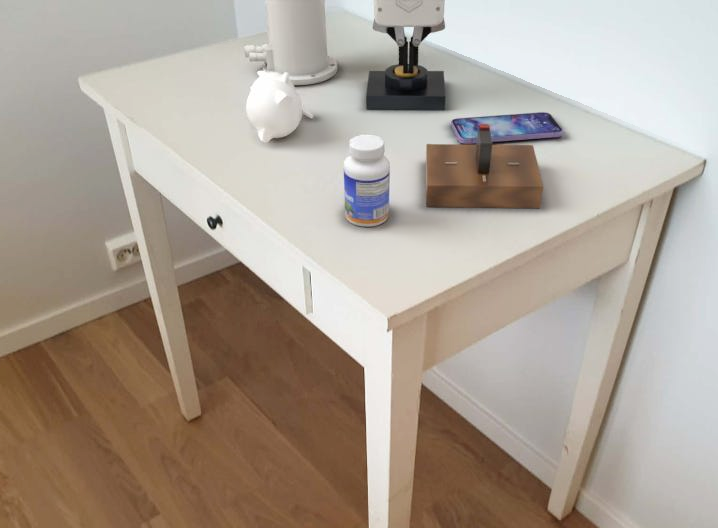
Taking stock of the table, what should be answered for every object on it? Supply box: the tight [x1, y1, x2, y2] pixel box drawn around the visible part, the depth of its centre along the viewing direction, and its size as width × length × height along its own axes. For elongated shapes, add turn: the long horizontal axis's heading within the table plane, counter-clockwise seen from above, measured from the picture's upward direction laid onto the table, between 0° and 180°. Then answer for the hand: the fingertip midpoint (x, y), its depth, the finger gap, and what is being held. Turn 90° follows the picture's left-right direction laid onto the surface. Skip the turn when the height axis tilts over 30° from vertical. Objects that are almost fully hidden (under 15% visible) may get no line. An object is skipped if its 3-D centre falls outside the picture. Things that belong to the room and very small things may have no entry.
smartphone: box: [450, 111, 564, 145], centre depth 105 cm, size 7×1×15 cm
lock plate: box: [425, 143, 544, 209], centre depth 93 cm, size 14×11×3 cm
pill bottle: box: [343, 134, 391, 228], centre depth 86 cm, size 5×5×10 cm
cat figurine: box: [245, 69, 314, 144], centre depth 105 cm, size 9×11×12 cm
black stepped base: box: [365, 63, 446, 111], centre depth 114 cm, size 12×10×4 cm
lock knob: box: [476, 124, 493, 173], centre depth 91 cm, size 5×1×4 cm, turn 177°
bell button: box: [395, 66, 418, 77], centre depth 113 cm, size 4×4×2 cm
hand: (408, 69), depth 112 cm, fingers closed
